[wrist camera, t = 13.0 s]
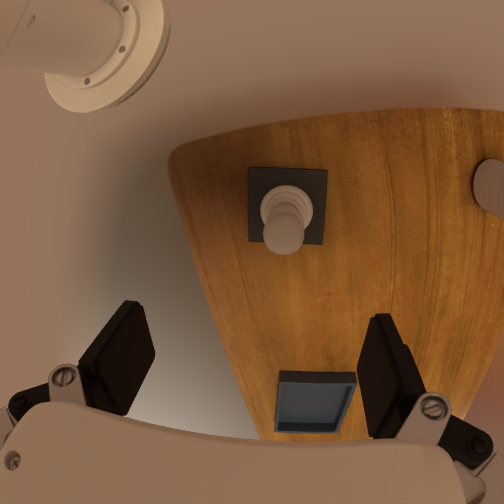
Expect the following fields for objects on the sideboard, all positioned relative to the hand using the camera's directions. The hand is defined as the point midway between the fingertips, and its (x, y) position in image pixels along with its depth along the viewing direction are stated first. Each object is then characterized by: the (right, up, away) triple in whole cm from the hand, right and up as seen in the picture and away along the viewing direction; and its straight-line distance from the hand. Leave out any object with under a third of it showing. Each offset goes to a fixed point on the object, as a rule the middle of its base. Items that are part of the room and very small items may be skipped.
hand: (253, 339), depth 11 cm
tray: (+10, -20, +31) cm, 38 cm away
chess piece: (+4, +8, +19) cm, 21 cm away
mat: (+4, +8, +19) cm, 21 cm away
